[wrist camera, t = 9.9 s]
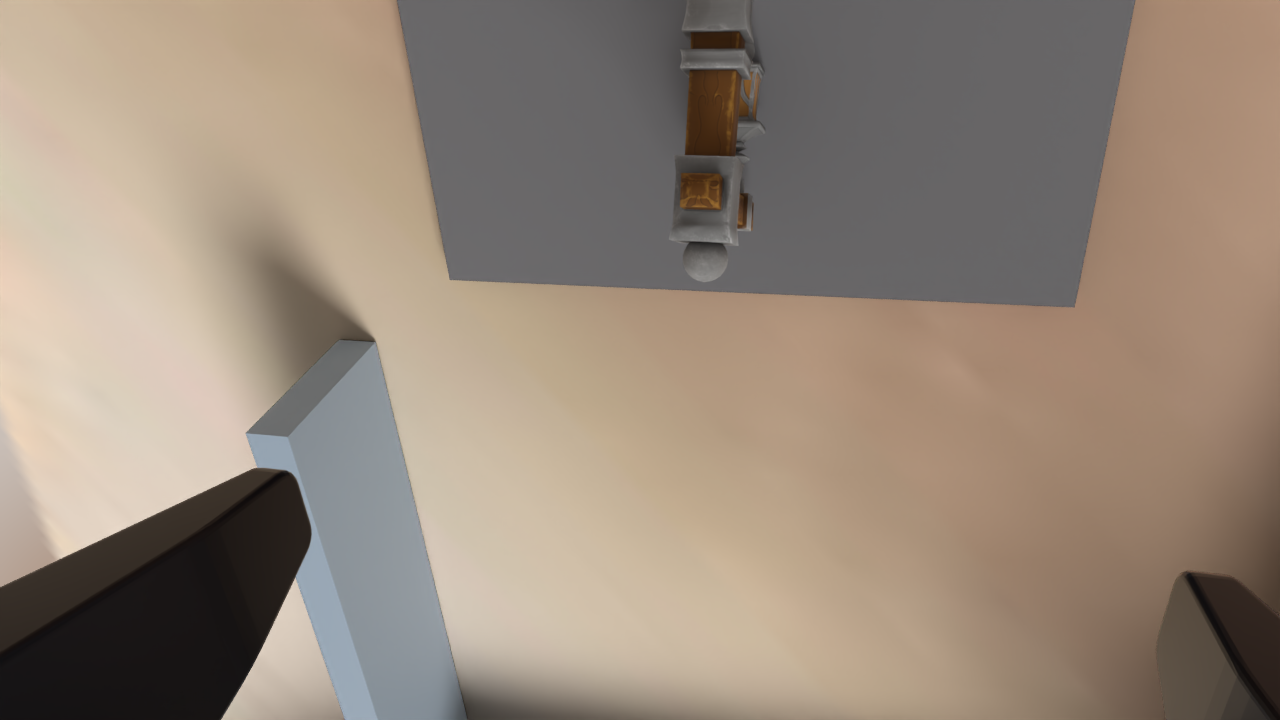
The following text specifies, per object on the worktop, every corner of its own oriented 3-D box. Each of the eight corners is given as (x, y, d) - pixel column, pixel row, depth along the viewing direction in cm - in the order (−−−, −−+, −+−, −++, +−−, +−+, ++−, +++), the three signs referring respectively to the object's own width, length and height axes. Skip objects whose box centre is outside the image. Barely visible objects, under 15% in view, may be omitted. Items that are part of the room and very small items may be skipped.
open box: (1479, 410, 18) (1617, 555, 14) (1249, 887, 26) (1302, 1049, 22) (338, 339, 23) (245, 433, 20) (449, 753, 31) (396, 868, 28)
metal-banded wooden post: (688, 272, 18) (635, 281, 14) (705, -159, 17) (654, -297, 13) (780, 276, 18) (756, 286, 14) (803, -165, 17) (785, -309, 12)
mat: (1212, -425, 13) (1219, -431, 12) (1071, 297, 18) (1074, 307, 18) (347, -324, 15) (335, -327, 15) (456, 272, 21) (449, 279, 21)
